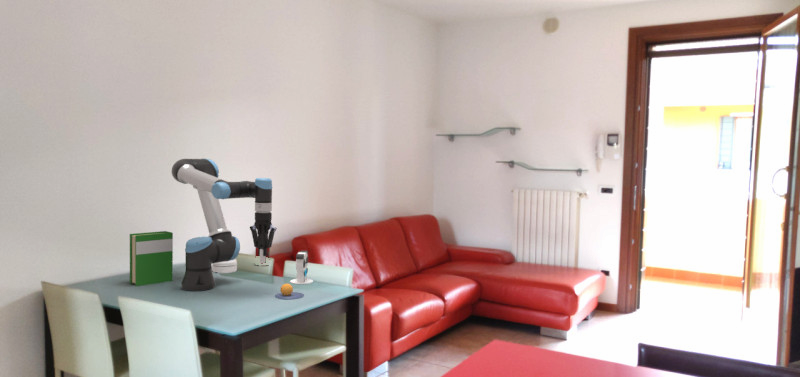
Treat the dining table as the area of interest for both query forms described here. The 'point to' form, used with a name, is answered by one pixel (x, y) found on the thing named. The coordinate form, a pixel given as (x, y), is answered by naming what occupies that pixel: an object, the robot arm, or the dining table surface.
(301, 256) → the white stand device
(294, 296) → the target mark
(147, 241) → the hardback book
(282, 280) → the dining table surface
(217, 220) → the robot arm
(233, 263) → the honey pot
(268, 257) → the canned food
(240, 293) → the dining table surface
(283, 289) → the ball
